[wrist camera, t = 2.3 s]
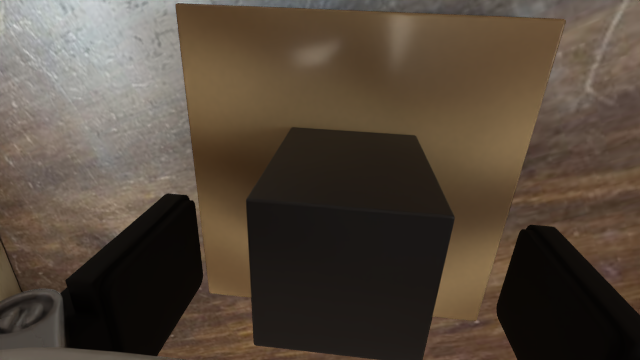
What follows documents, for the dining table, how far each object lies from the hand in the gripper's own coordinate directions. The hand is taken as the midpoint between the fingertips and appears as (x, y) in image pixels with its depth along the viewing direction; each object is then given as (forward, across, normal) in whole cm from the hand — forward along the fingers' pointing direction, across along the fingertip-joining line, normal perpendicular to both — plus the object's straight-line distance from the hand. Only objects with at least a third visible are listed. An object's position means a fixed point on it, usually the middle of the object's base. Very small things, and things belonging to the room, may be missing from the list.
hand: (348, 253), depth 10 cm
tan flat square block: (+6, 0, -1) cm, 7 cm away
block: (+4, 0, 0) cm, 4 cm away
